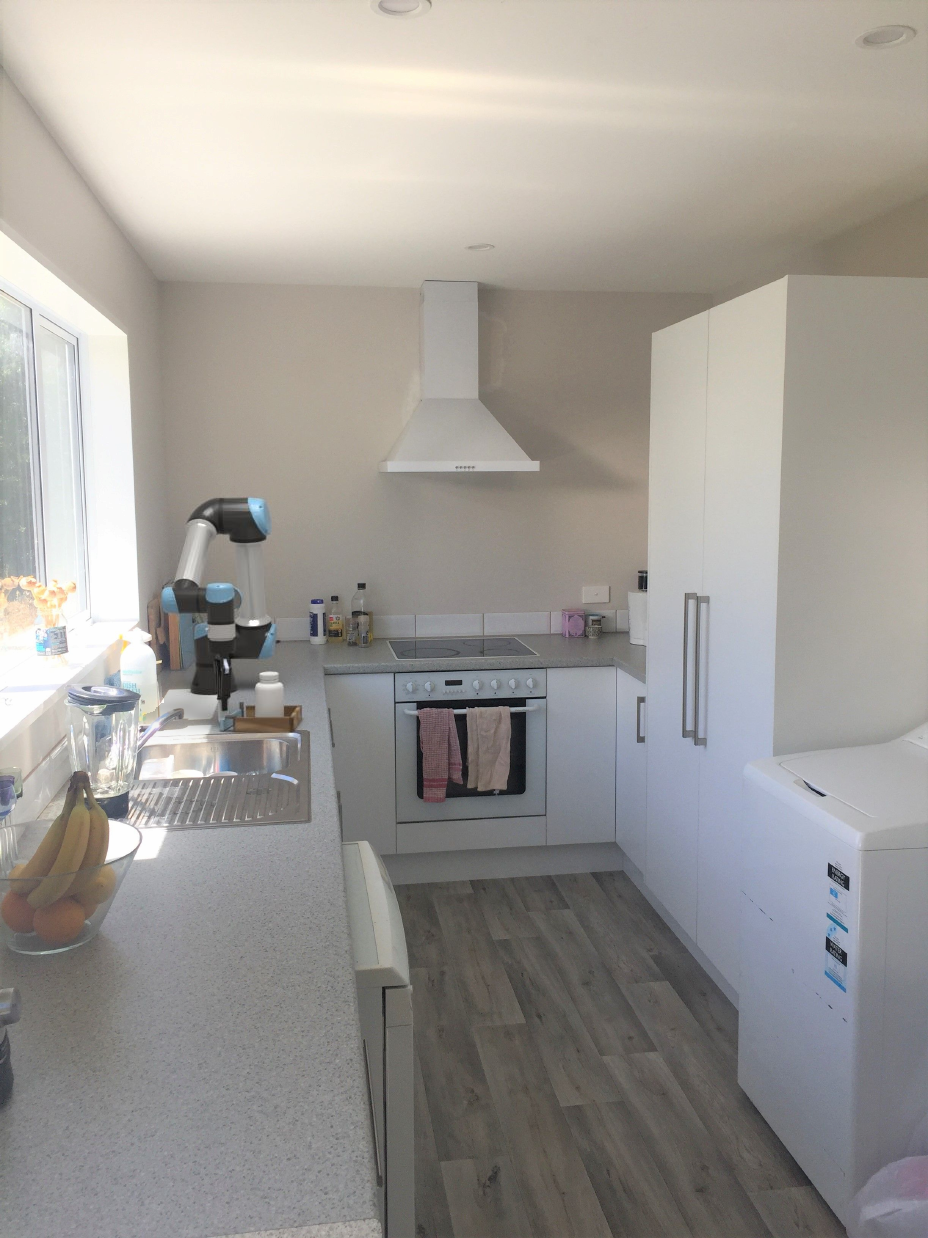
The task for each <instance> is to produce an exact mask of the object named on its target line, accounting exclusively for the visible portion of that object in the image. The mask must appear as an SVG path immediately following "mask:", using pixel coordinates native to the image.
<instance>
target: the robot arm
mask: <svg viewBox="0 0 928 1238" xmlns="http://www.w3.org/2000/svg"><path fill="white" fill-rule="evenodd" d="M271 521H272V520H271V515H270V511H269V506H268V504H267V502H266V501H265V500H264V499H263V498H258V497H256V498H255V497H249V496H248V497H214V498H211V499H208V500H205V501H203V503H201V504H200V505H198V506H197V507H196V508H195V509H194V510H193V511H192V512H191V513H190V516H189V517H188V518H187V522H185V523H186V524H185V528H184V531H185V533H184V534H185V535H186V537H185V541H184V545H183V548H182V551H181V556H180V559H179V562H178V566H177V569H176V573H175V578H174V581H173V584H172V586H169V587H164V588H163V589H162V591H161V594H160V603H161V609H162V611H163V612H164V613H167V614H176V615H180V614H206V621H205V622H202V623H201V622H200V623H198V624H197V625H195V626H194V637H193V640H194V662H195V663H194V664H195V668H194V669H195V670H194V672H193V675H192V678H191V681H190V682H191V683H190V693H193V694H197V695H216V700H217V709H218V710H217V712H218V713H217V714H218V715H217V717H218V720H217V721H218V722H219V723H220V719H222V718H224V717H225V716H226V715H229V714H230V703H229V702H230V700H229V699H231V693H232V692H236V691H237V690H238V681H237V678H236V674H235V673H234V670H233V668H232V667H233V666H232V660H258V661H259V660H264V659H267V660H268V659H271V658H272V657H273V656H274V652H275V648H276V643H277V642H276V641H277V636H278V635H277V633H278V631H277V630H278V627H277V624H276V623H272V618H271V616H269V615H268V614H267V605H266V590H265V589H266V588H265V573H264V557H263V556H264V555H263V544H264V543H265V541H267V536H268V535H270V534H271V532H272V522H271ZM218 535H223V536H225V535H226V536H227V535H228V538H229V542H230V543H231V544H232V545H233V546H234V551H235V552H234V553H235V567H236V570H235V571H236V581H237V587H235V586H234V585H233V584H232V583H230V582H214V583H209V584H207V585H206V587H202V586H201V584H202V581H203V576H204V573H205V568H206V566H207V562H208V561H207V560H208V557H209V554H210V553H209V552H210V548H211V545H212V544H211V543H212V542H213V541H214V540H215V539H216V538H217V536H218ZM238 610H239V616H238V617H237V618H235V615H236V614H235V612H236V611H238Z"/></svg>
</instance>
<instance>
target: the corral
mask: <svg viewBox="0 0 928 1238" xmlns="http://www.w3.org/2000/svg"><path fill="white" fill-rule="evenodd" d="M238 706H239V709H241V714H242V717H237V715H226V716H225V719H233V725H232V733H294V731H296V729H297V727H298V726H299V724H300V723H301V721H302V720H303V705H299V704H295V705H288V704H287V705H285V704H284V717H255V704H254V705H252V704H251V705H250V704H249V705H244V702H243V701H240V702H239V704H238ZM244 706H245V707H244ZM244 710H245V711H244Z"/></svg>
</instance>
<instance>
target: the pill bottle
mask: <svg viewBox="0 0 928 1238" xmlns="http://www.w3.org/2000/svg"><path fill="white" fill-rule="evenodd" d="M279 674H280V673H279V672H277V671H263V672H260V673H259V675H258V677H259V682H257V683H256V684H255V686H254V705H255V717H284V705H285V696H284V694H285V690H284V689H285V688H284V684H283V683H282V682H281V681H279V680H280V679H279V678H280V677H279V676H280V675H279Z"/></svg>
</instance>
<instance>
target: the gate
mask: <svg viewBox="0 0 928 1238" xmlns="http://www.w3.org/2000/svg"><path fill="white" fill-rule="evenodd" d="M229 715H237V717H242V714H241V709H240V708H239V709H236V710H234V711H233V712H231V713H229ZM230 727H233V719H225V717H224V718H222V719H220V722H219V731H222V732H223V731H225V730H227V729H228V728H230Z"/></svg>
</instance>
